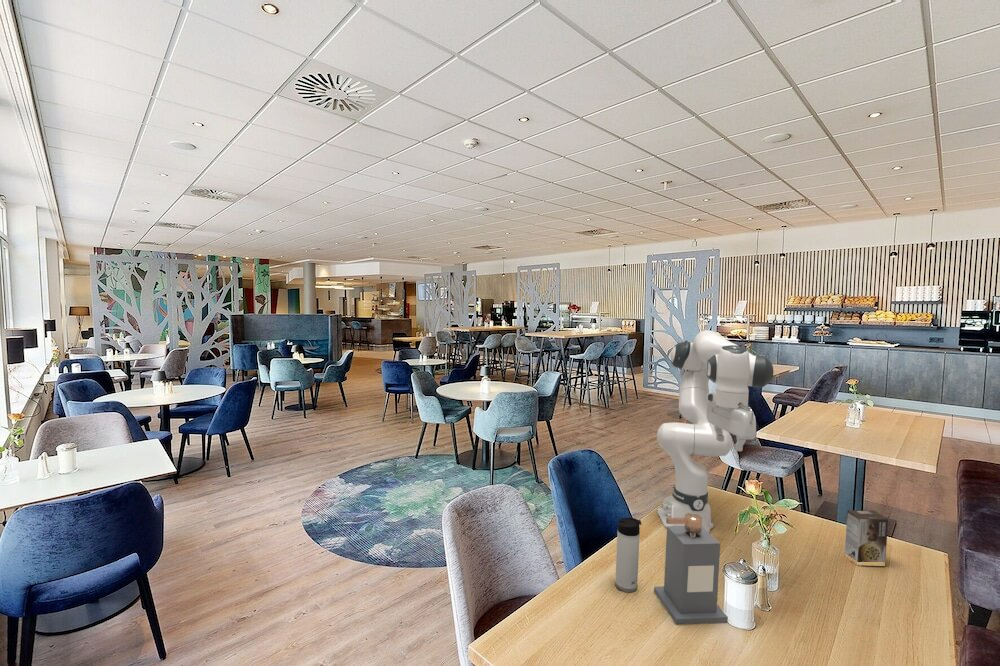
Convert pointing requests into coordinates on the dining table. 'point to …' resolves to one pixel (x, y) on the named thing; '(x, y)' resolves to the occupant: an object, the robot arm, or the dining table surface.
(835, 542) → the dining table surface
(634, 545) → the travel mug
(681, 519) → the pump head
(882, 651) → the dining table surface
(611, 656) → the dining table surface
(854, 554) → the coffee box
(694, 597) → the grey box with base
